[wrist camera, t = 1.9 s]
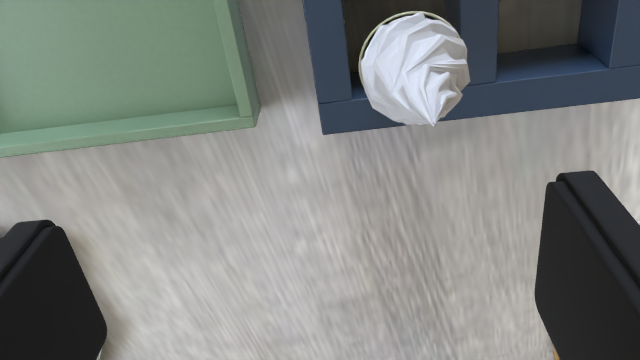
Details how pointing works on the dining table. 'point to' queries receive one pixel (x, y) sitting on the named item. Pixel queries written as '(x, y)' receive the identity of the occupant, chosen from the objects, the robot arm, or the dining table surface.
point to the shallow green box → (120, 72)
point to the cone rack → (489, 64)
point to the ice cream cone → (414, 68)
